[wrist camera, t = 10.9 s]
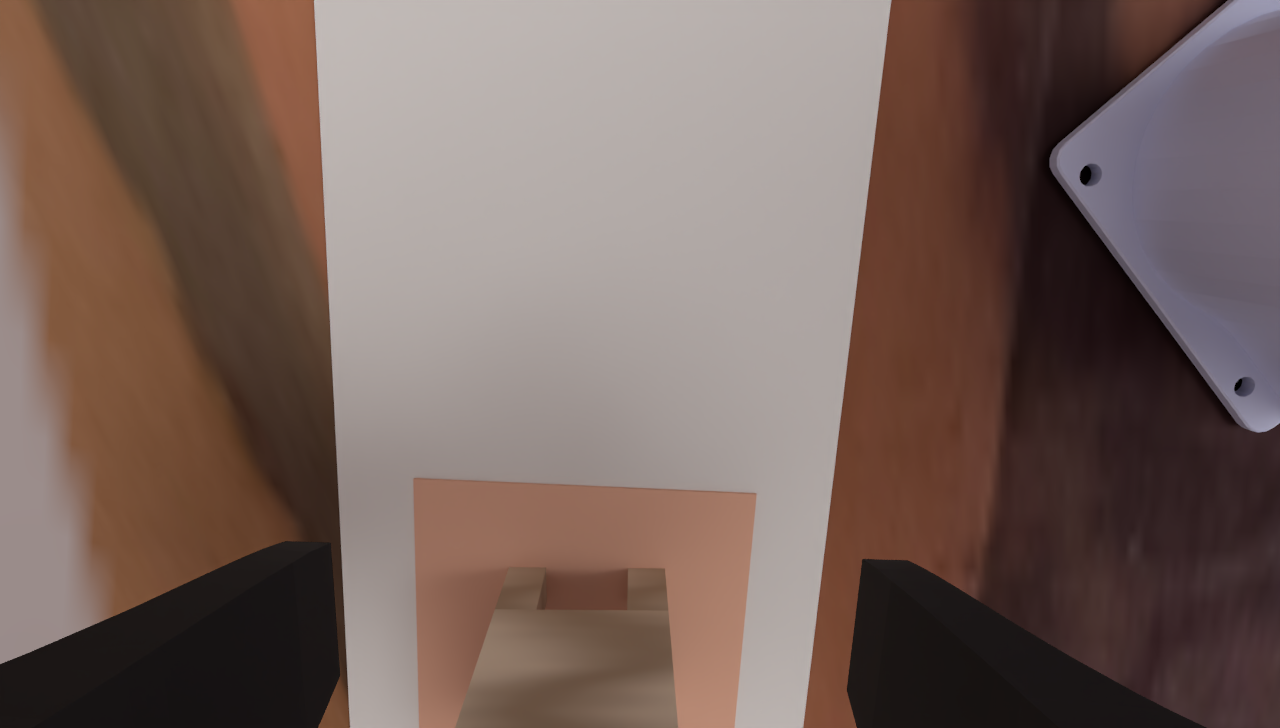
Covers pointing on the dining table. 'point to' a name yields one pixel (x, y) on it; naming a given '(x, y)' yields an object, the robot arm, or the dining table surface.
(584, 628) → the beige notched block
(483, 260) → the mat
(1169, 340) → the dining table surface
